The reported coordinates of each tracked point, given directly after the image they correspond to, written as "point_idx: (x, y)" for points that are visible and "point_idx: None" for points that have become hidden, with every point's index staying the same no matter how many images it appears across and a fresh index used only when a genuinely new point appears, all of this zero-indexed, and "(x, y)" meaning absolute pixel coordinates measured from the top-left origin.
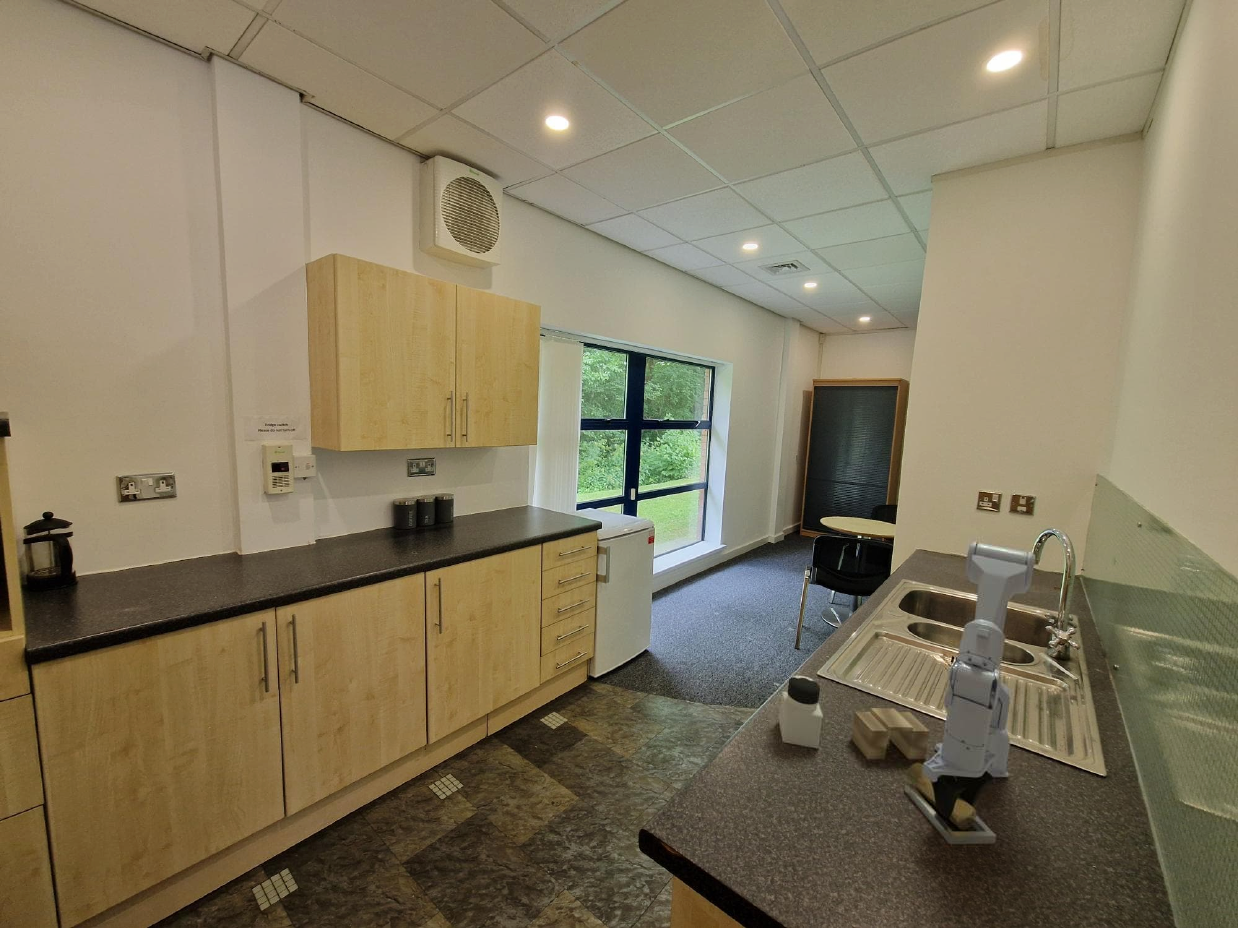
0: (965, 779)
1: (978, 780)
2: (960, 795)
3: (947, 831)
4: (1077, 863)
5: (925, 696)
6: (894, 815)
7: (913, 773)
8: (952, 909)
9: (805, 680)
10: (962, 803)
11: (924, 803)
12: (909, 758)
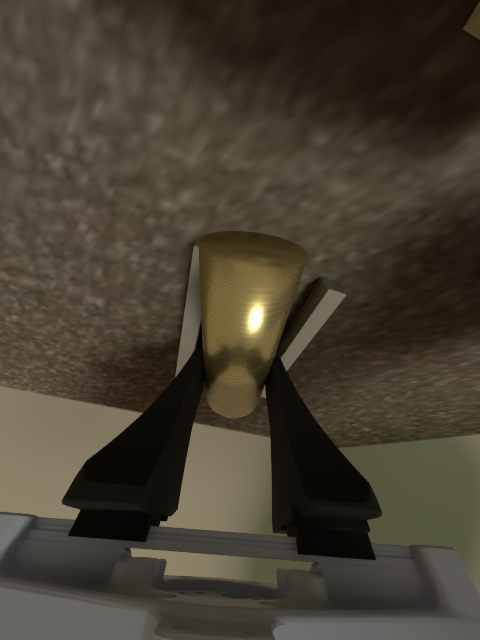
0: (279, 450)
1: (275, 502)
2: (271, 383)
3: (177, 373)
4: (340, 419)
5: None
6: (102, 292)
7: (203, 279)
8: (105, 401)
9: None
10: (226, 410)
11: (190, 319)
12: (470, 30)
